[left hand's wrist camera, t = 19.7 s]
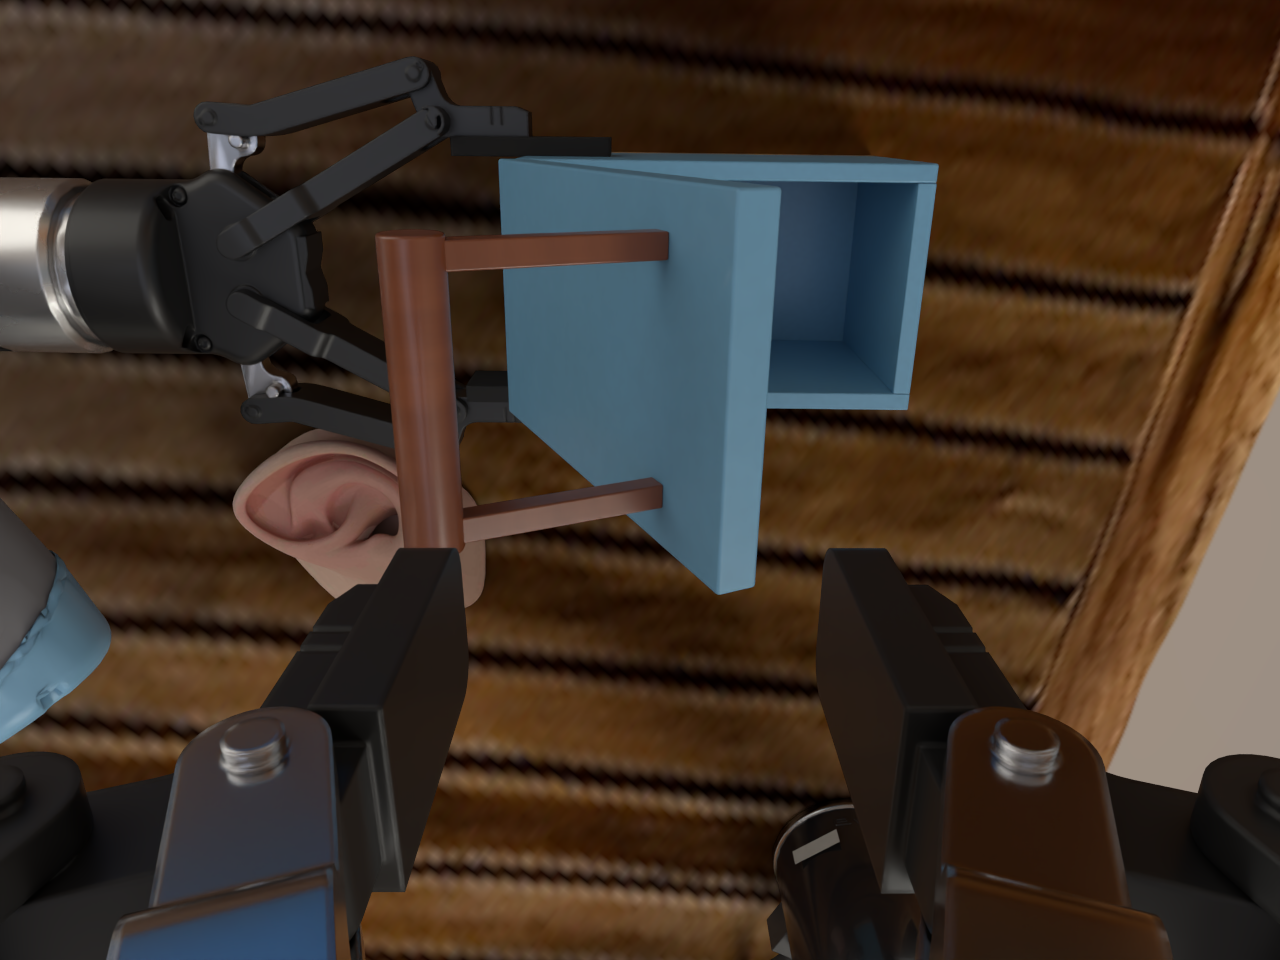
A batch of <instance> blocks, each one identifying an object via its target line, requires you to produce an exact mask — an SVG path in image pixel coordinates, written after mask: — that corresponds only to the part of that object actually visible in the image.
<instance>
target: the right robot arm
mask: <svg viewBox="0 0 1280 960" xmlns="http://www.w3.org/2000/svg"><path fill="white" fill-rule="evenodd" d="M410 97H411V99H412V102H413V104H414V107H415V109H416V111H417V113H415V114H414V115H412V116H411V117H409V118H407V119H406V120H404V121H403V122H401V123H399V124H398V125H396V126H395V127H393V128H391V129H390V130H388V131H387V132H385V133H383V134H382V135H380V136H379V137H377V138H375V139H374V140H372V141H371V142H369V143H367V144H366V145H364V146H363V147H361V148H359V149H358V150H356V151H355V152H353V153H351V154H350V155H348V156H347V157H345V158H343V159H342V160H340V161H339V162H337V163H335V164H334V165H332V166H331V167H329V168H328V169H326V170H324V171H323V172H321V173H320V174H318V175H316V176H315V177H313V178H312V179H310V180H308V181H307V182H305V183H303V184H302V185H300V186H297V187H295V188H293V189H291V190H289V191H288V192H286V193H285V194H283V195H281V196H278V195H277V194H275V193H274V192H273V191H271V190H270V189H268V188H267V187H265V186H264V185H263V184H261V183H260V182H258V181H257V180H255V179H254V178H252V177H251V176H250V175H248V174H247V173H245V172H244V171H242V167H243V163H244V161H245V160H246V158H248V157H249V156H253V155H258V154H260V153H261V152H262V151H263V150H264V148H265V142H266V141H265V136H276V135H285V134H289V133H293V132H297V131H300V130H303V129H307V128H310V127H313V126H317V125H320V124H323V123H327V122H330V121H333V120H337V119H340V118H343V117H347V116H350V115H353V114H357V113H360V112H363V111H367V110H370V109H373V108H377V107H380V106H383V105H387V104H390V103H393V102H397V101H400V100H403V99H407V98H410ZM194 119H195V123H196V124H197V126H198V127H199V128H200V129H201V130H203V131H204V132H207V137H208V149H209V160H210V170H208V171H206V172H205V173H203V174H202V175H200V176H198V177H196V178H194V179H189V180H181V179H100V180H97V181H95V182H93V183H92V182H90V181H87V180H85V179H77V178H0V351H31V352H73V353H104V352H108V351H112V350H113V349H114V350H116V351H119V352H123V353H172V354H216V355H220V356H223V357H225V358H228V359H230V360H231V361H233V362H235V363H238V364H241V368H242V372H243V377H244V381H245V385H246V389H247V394H248V399H247V400H246V401H244V402H243V403H242V405H241V414H242V416H243V417H244V419H245V420H246V421H248V422H250V423H254V424H263V423H279V422H296V423H299V424H303V425H307V426H311V427H314V428H318V429H322V430H326V431H329V432H333V433H337V434H341V435H344V436H348V437H352V438H355V439H359V440H363V441H367V442H370V443H374V444H378V445H382V446H385V447H389V448H393V449H395V445H394V434H393V424H392V413H391V404H388V403H384V402H381V401H377V400H373V399H370V398H366V397H362V396H359V395H355V394H351V393H348V392H344V391H340V390H337V389H333V388H329V387H326V386H321V385H317V384H309V383H298V382H297V379H296V377H295V376H294V375H293V374H291V373H289V372H286V371H281V370H278V369H276V368H275V367H274V366H273V365H272V363H271V362H270V359H269V357H270V356H272V355H273V354H274V353H275V352H277V351H278V350H279V349H281V348H282V347H283V346H284V345H286V344H289V345H291V346H293V347H295V348H297V349H299V350H301V351H303V352H305V353H307V354H309V355H311V356H314V357H321V358H325V359H327V360H329V361H331V362H333V363H334V364H336V365H338V366H340V367H342V368H344V369H346V370H348V371H350V372H352V373H353V374H355V375H357V376H359V377H361V378H363V379H365V380H367V381H369V382H371V383H372V384H374V385H376V386H378V387H380V388H382V389H384V390H386V391H388V392H389V381H388V371H387V360H386V349H385V342H383V341H382V340H380V339H378V338H376V337H374V336H372V335H370V334H369V333H367V332H365V331H363V330H361V329H359V328H357V327H356V326H354V325H352V324H351V323H350V322H349V321H348V319H347V318H345V317H344V316H342V315H340V314H339V313H337V312H335V311H333V310H331V309H329V308H327V307H326V306H325V303H326V302H328V301H329V296H328V287H327V282H326V280H325V277H324V275H323V272H322V269H321V259H322V252H323V245H322V236H321V232H317V231H316V229H315V227H314V225H313V223H312V222H314V221H316V220H317V219H319V218H320V217H322V216H324V215H325V214H327V213H329V212H330V211H332V210H333V209H335V208H336V207H337V206H338V205H340V204H341V203H343V202H344V201H346V200H348V199H349V198H351V197H353V196H354V195H356V194H357V193H359V192H361V191H362V190H364V189H366V188H367V187H369V186H370V185H372V184H374V183H375V182H377V181H379V180H380V179H382V178H383V177H385V176H387V175H388V174H390V173H392V172H393V171H395V170H396V169H398V168H400V167H401V166H403V165H404V164H406V163H408V162H409V161H411V160H413V159H414V158H416V157H417V156H419V155H421V154H422V153H424V152H426V151H427V150H429V149H430V148H432V147H434V146H435V145H437V144H439V143H440V142H442V141H443V140H445V139H447V138H448V137H450V142H451V156H517V157H524V156H569V157H610V156H611V137H542V136H532V112H529V111H527V110H525V109H523V108H520V107H511V106H459V105H457V104H455V103H454V102H452V101H451V99H450V98H449V97H448V95H447V93H446V91H445V88H444V85H443V83H442V80H441V73H440V70H439V69H438V67H437V66H436V65H435V64H434V63H433V62H430V61H428V60H424V59H421V58H418V57H406V58H403V59H400V60H397V61H393V62H390V63H387V64H384V65H380V66H377V67H374V68H370V69H367V70H364V71H361V72H357V73H354V74H351V75H347V76H344V77H341V78H338V79H334V80H331V81H328V82H324V83H321V84H318V85H315V86H311V87H308V88H305V89H302V90H298V91H295V92H292V93H288V94H285V95H282V96H279V97H275V98H272V99H269V100H265V101H262V102H259V103H256V104H252V105H247V104H236V103H222V102H201V103H200V104H198V105H197V106H196V108H195V110H194ZM455 393H456V408H457V423H458V438H459V445H460V443H461V441H462V439H463V437H464V432H465V429H466V426H467V425H468V424H470V423H473V422H518V423H522V422H521V421H520V420H519V419H518V418H517V417H516V416H514V415H513V414H512V413H511V412H510V411H509V393H508V371H476V372H475V373H474V375H473V376H472V378H471V379H470V381H469V382H468V384H467V385H466V386H465V385H464V384H462V383H460V382H458V381H456V380H455ZM110 642H111V630H110V627H109V624H108V622H107V620H106V619H105V617H104V616H103V615H102V614H101V612H100V611H99V610H98V608H97V607H96V606H95V604H94V603H93V602H92V601H91V599H90V598H89V597H88V595H87V594H86V593H85V591H84V590H83V589H82V587H81V586H80V585H79V584H78V582H77V581H76V580H75V578H74V577H73V576H72V574H71V573H70V572H69V571H68V569H67V568H66V565H65V563H64V562H63V560H62V559H61V558H60V557H59V556H58V555H57V554H56V553H54V552H53V551H50V550H48V549H47V548H46V547H45V546H44V545H43V544H42V543H41V541H40V540H39V539H38V538H37V537H36V536H35V535H34V534H33V533H32V532H31V531H30V530H29V529H28V527H27V526H26V525H25V524H24V523H23V522H22V521H21V520H20V519H19V518H18V517H17V516H16V515H15V513H14V512H13V511H12V510H11V509H10V508H9V507H8V506H7V505H6V504H5V503H4V502H3V501H2V499H1V498H0V743H2V742H4V741H5V740H7V739H8V738H10V737H11V736H13V735H14V734H16V733H17V732H19V731H20V730H21V729H23V728H24V727H26V726H27V725H29V724H30V723H32V722H33V721H34V720H36V719H37V718H38V717H40V716H41V715H42V714H44V713H45V712H46V710H47V709H48V708H49V707H51V706H52V705H53V704H54V703H56V702H57V701H58V700H60V699H61V698H62V697H64V696H65V695H67V694H69V693H70V692H71V691H72V690H73V689H75V688H76V687H77V686H78V685H79V684H80V683H81V682H82V681H83V680H84V679H86V678H87V677H88V676H89V675H90V674H91V673H92V672H93V671H94V669H95V668H96V667H97V666H98V665H99V664H100V662H101V661H102V659H103V658H104V656H105V655H106V653H107V651H108V649H109V646H110Z"/></svg>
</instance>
